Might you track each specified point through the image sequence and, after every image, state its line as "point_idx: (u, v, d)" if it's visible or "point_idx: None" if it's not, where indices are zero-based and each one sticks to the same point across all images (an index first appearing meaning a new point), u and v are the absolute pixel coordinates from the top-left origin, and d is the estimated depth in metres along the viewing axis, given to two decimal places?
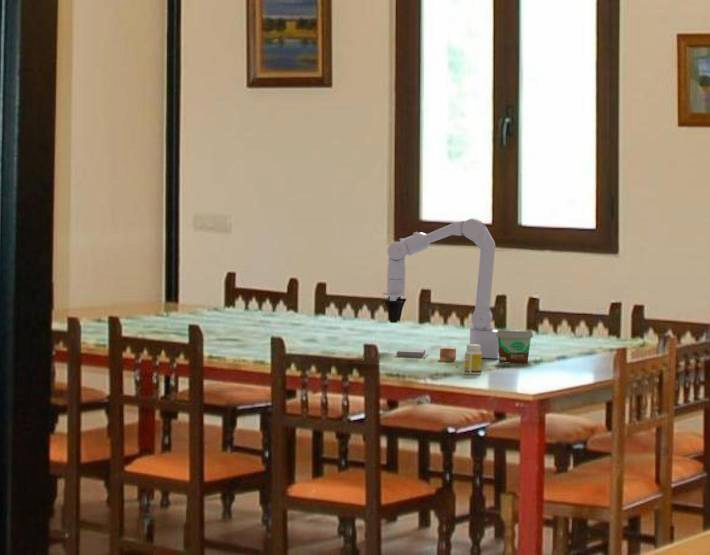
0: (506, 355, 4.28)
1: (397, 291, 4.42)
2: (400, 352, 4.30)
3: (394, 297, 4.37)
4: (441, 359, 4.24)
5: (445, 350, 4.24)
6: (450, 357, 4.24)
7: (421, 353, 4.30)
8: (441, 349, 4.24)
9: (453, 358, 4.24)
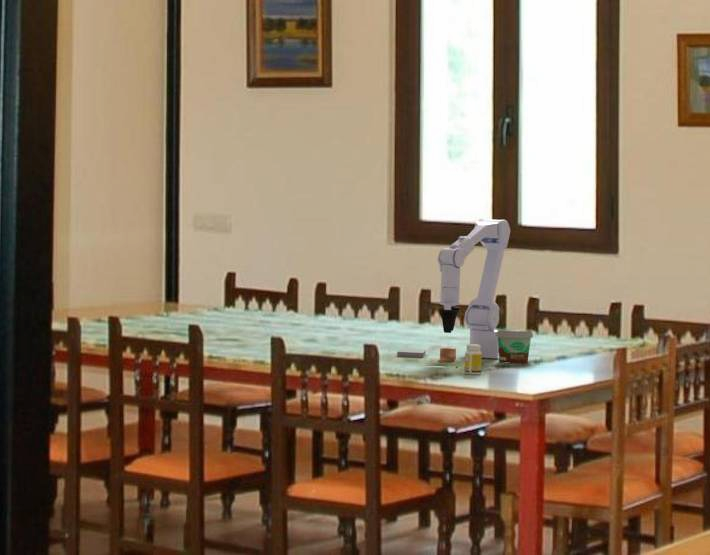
0: (506, 355, 4.28)
1: (451, 300, 4.22)
2: (400, 352, 4.30)
3: (449, 306, 4.18)
4: (441, 359, 4.24)
5: (445, 350, 4.24)
6: (450, 357, 4.24)
7: (421, 353, 4.30)
8: (441, 349, 4.24)
9: (453, 358, 4.24)
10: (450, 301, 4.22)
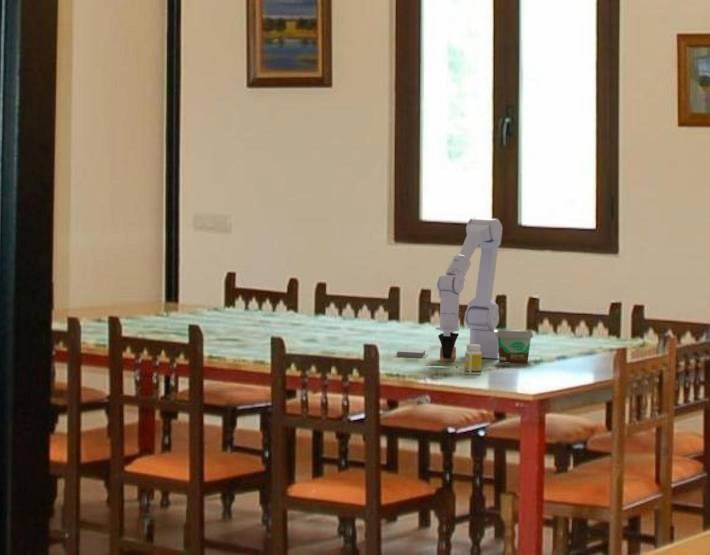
0: (506, 355, 4.28)
1: (450, 326, 4.23)
2: (400, 352, 4.30)
3: (448, 332, 4.18)
4: (441, 359, 4.24)
5: None
6: None
7: (421, 353, 4.29)
8: (441, 349, 4.24)
9: (453, 358, 4.24)
10: (449, 327, 4.23)
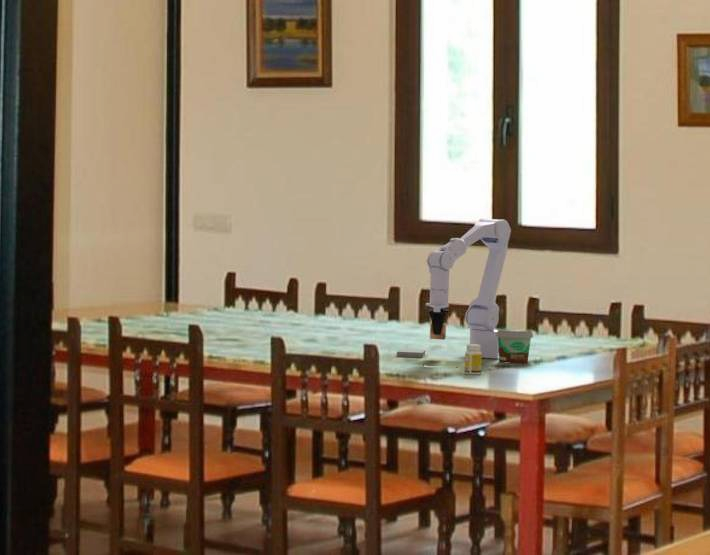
0: (506, 355, 4.28)
1: (440, 302, 4.25)
2: (400, 352, 4.30)
3: (438, 308, 4.20)
4: (431, 335, 4.26)
5: None
6: None
7: (421, 353, 4.30)
8: (431, 325, 4.26)
9: (443, 334, 4.25)
10: (439, 303, 4.25)
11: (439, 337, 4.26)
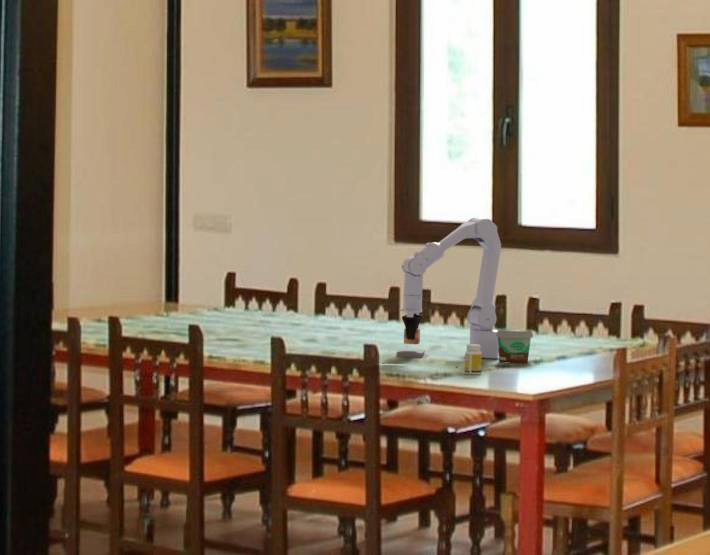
0: (506, 355, 4.28)
1: (413, 307, 4.30)
2: (400, 352, 4.30)
3: (411, 313, 4.26)
4: (405, 340, 4.32)
5: None
6: (414, 338, 4.31)
7: (421, 354, 4.29)
8: (405, 330, 4.32)
9: (417, 339, 4.31)
10: (413, 308, 4.30)
11: (413, 342, 4.31)
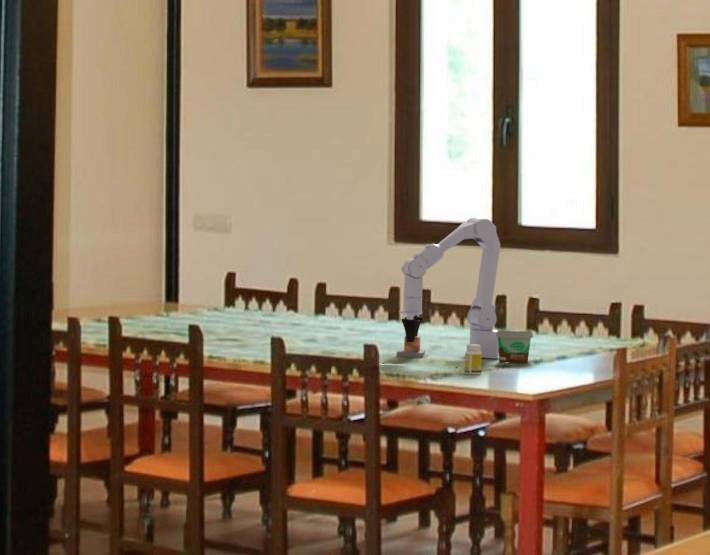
0: (506, 356, 4.28)
1: (413, 310, 4.30)
2: (400, 352, 4.30)
3: (411, 316, 4.26)
4: (405, 348, 4.32)
5: None
6: (414, 345, 4.31)
7: (421, 354, 4.29)
8: (405, 338, 4.32)
9: (417, 347, 4.31)
10: (413, 311, 4.30)
11: (413, 350, 4.31)
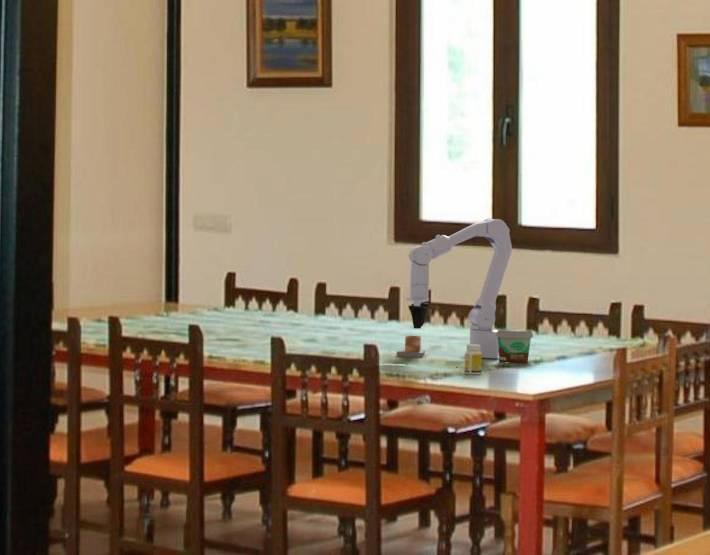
0: (506, 356, 4.28)
1: (420, 296, 4.34)
2: (400, 352, 4.30)
3: (418, 302, 4.29)
4: (406, 348, 4.32)
5: (410, 339, 4.31)
6: (415, 345, 4.31)
7: (421, 354, 4.30)
8: (406, 338, 4.31)
9: (418, 347, 4.31)
10: (419, 297, 4.34)
11: (414, 350, 4.31)
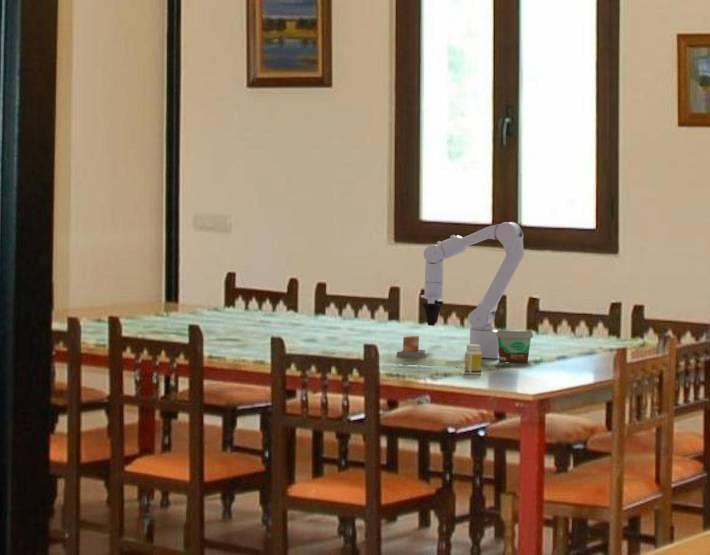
0: (506, 356, 4.28)
1: (434, 294, 4.43)
2: (400, 353, 4.30)
3: (432, 300, 4.39)
4: (404, 348, 4.32)
5: (408, 339, 4.32)
6: (413, 345, 4.32)
7: (421, 354, 4.30)
8: (404, 338, 4.32)
9: (416, 347, 4.31)
10: (433, 295, 4.43)
11: (412, 350, 4.32)
